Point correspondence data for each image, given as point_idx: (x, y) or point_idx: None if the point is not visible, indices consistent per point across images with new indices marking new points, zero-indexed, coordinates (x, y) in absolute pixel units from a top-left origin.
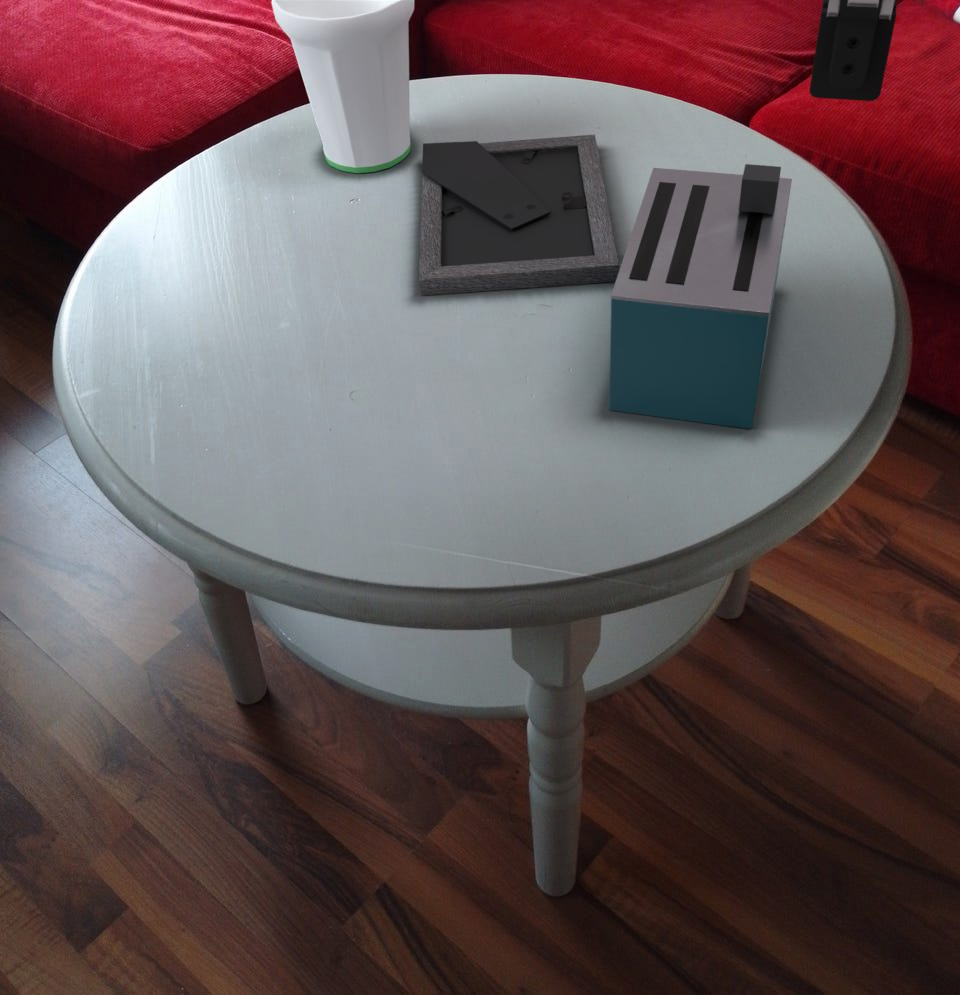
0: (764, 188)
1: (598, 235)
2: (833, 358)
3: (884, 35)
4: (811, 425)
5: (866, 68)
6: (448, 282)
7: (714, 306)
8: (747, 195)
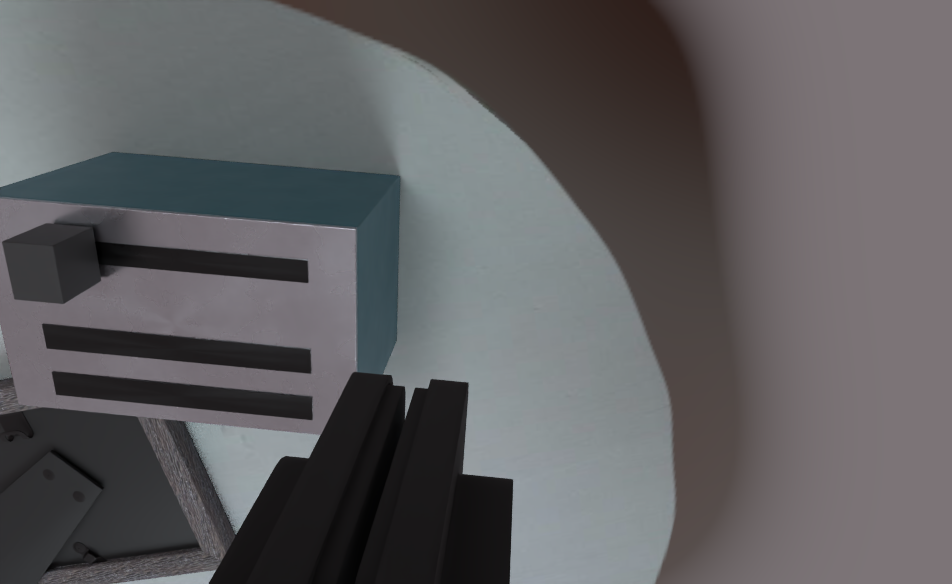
0: (67, 262)
1: None
2: (233, 67)
3: (440, 558)
4: (377, 98)
5: (508, 518)
6: (223, 536)
7: (355, 306)
8: (80, 281)
